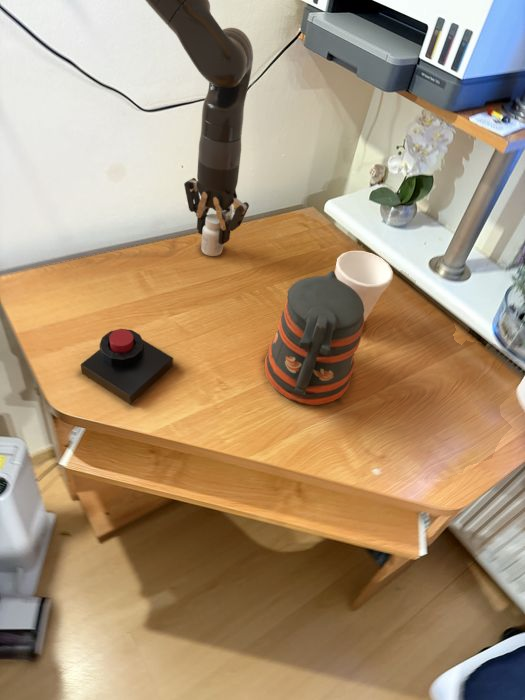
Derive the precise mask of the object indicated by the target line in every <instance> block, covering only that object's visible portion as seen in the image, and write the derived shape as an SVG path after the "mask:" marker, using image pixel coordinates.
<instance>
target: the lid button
mask: <svg viewBox="0 0 525 700" xmlns="http://www.w3.org/2000/svg"><path fill="white" fill-rule="evenodd" d="M120 329H121V330H118V329H115V330H116V331H114V330H113V331H114V332H112V333H111V335H110V337H109V341H110V348H111V349H112V351H114V352H116V353H121V354H123V353H127V352H129V351H131V350H132V348H133V346H134V341H133V335H132V333H131V332H130V331H127V330H128V329H127V330H123V329H124V328H120Z"/></svg>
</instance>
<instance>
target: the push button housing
mask: <svg viewBox="0 0 525 700" xmlns="http://www.w3.org/2000/svg"><path fill="white" fill-rule="evenodd" d="M121 329H123V330H127V331H130V332H131V333H132V335H133V341H134V346H133V348H132V350H131V351H129V352H127V353H123V354H121V353H116V352H114V351H112V349H111V348H110V341H109V337H110V335H111V333H112V332H114V331H116V330H121ZM173 366H174V358H173V356H171V355H169V354H167V353H166V352H164V351H163V350H161V349H160V348H158V347H156V346H154V345H152V344H151V343H149V342H147V341H146V340H144V339H143V338H142V336H141V335H140V333H138V332H136V331H134V330H133V329H127V328H119V329H114V330H110V331H108V332H107V333H106V334H104V335H103V336H102V337H101V340H100V342H99V349H98V350H97V351H96V352H95V353H93V354H92V355H91V356H90V357H87V358H86V359H85V360H84V361H83V362H81V363H80V369H81V374H82V375H83V376H85V377H87V378H88V379H90V380H91V381H93V382H95V383H96V384H97V385H99V386H100V387H102V388H104V389H105V390H107V391H108V392H110V393H111V394H113V395H114V396H116V397H118V398H119V399H121V400H122V401H124V402H125V403H127V404H129V406H131V405H133V404H134V403H135V402H136V401H137V400H138V399H139V398H140V397H142V395H144V394H145V393H146V392H147V391H148V390H149V389H150V388H151V387H152V386H153V385H155V384H156V383H157V382H158V381H159V380H160V379H161V378H162V377H163V376H165V374H166V373H168V372H169V371H170V370H171V369H172V368H173Z"/></svg>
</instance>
